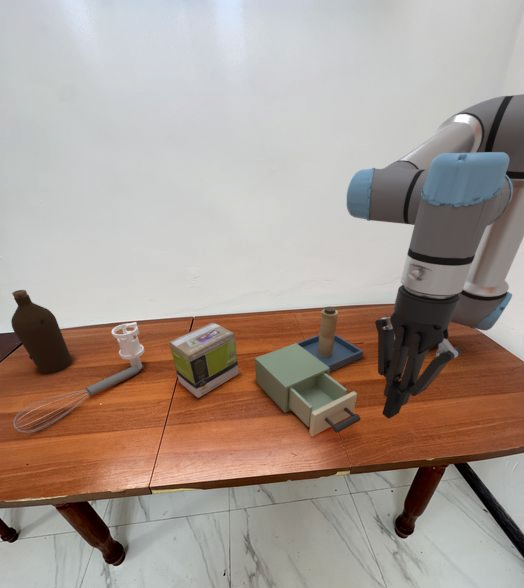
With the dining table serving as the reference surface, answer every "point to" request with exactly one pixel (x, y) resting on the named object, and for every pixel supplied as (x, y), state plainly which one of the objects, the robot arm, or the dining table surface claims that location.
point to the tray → (341, 352)
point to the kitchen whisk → (91, 391)
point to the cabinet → (286, 371)
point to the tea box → (205, 358)
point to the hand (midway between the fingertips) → (390, 413)
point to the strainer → (129, 344)
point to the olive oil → (40, 334)
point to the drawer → (323, 404)
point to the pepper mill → (327, 331)
